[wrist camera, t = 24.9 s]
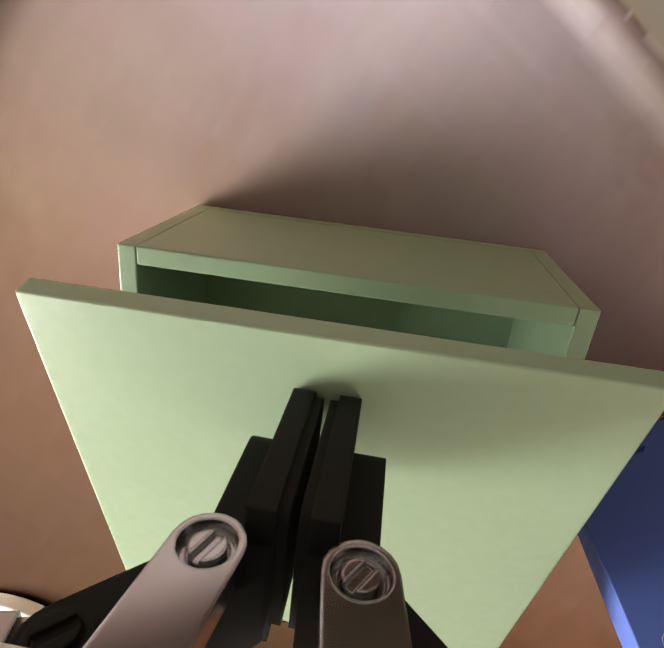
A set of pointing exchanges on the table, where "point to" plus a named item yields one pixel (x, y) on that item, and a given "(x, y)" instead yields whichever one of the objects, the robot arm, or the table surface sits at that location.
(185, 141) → the table surface
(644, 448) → the walkman
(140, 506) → the chest lid
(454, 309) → the chest
